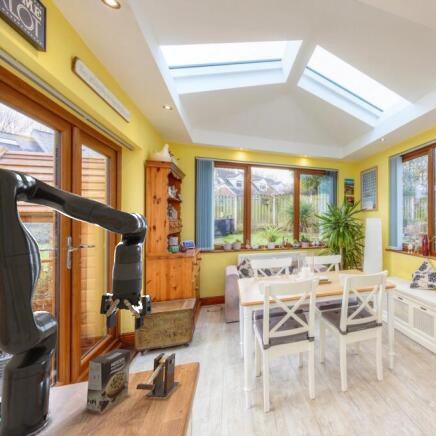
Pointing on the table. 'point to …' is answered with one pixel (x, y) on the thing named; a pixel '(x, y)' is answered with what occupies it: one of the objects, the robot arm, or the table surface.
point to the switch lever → (153, 376)
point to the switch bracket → (168, 384)
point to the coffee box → (108, 379)
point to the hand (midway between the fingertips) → (125, 328)
